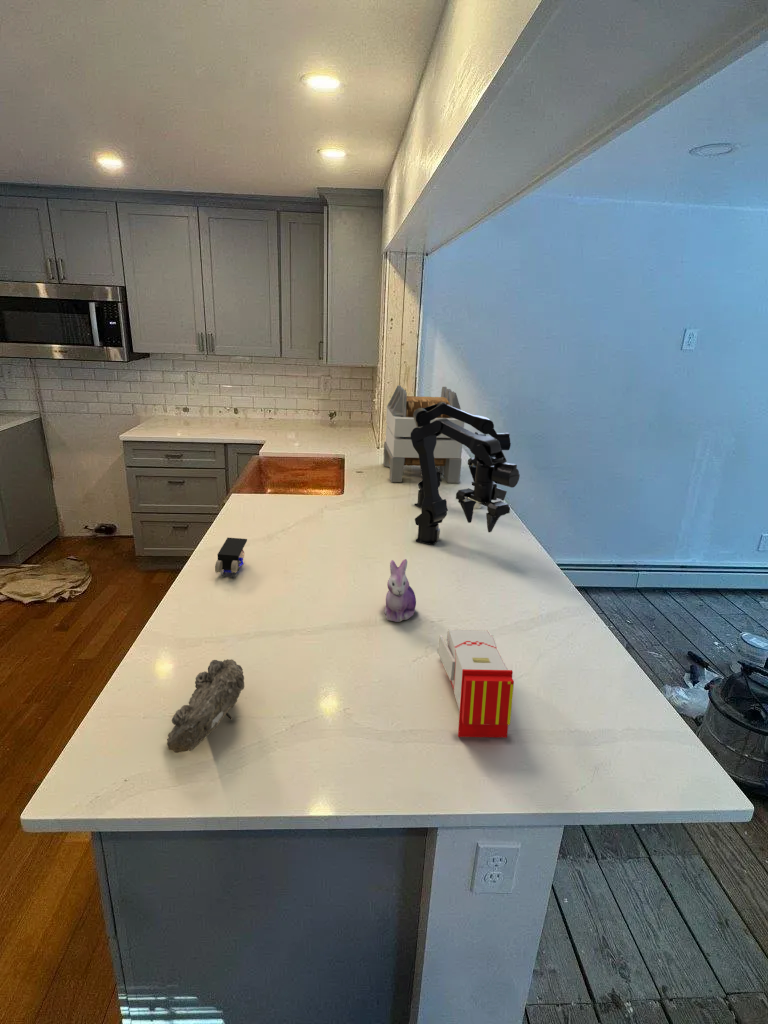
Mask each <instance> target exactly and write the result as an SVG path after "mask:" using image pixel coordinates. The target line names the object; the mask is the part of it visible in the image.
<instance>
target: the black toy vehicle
mask: <svg viewBox="0 0 768 1024" xmlns="http://www.w3.org/2000/svg"><path fill="white" fill-rule="evenodd" d="M247 542H248V538H240V537H226V539H225V541H224V543H223V544H222V546H221V547H220V549H219V551H218V552H217V560H216V562H215V564H214V572H215V573H221V577H222V578H224V577H225V576H226V574H227V573H230V574H231V573H232V574H231V578H234V577H235V575H236V573H237V572H239V571H240V567H242V566H243V565H244V564H245V562H244V558H245V551H244V547H245V546H246V544H247Z"/></svg>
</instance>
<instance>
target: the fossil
mask: <svg viewBox="0 0 768 1024" xmlns="http://www.w3.org/2000/svg"><path fill="white" fill-rule="evenodd" d="M243 670H244V669H243V667H242V665H240V664H237V662H236V661H235V660H234V659H232V658H231V659H227V658H226V659H224V660H223V661H222V660H217V659H212V660H211V661H210V663H209V665H208V666H207V671H201V672H199V673H198V674H197V675H196V676H195V680H194V684H195V685H194V687H195V689H194V690H193V693H192V694H191V697H190V698H189V700H188V704H184V705H182V706H181V707H180V709H177V710H176V711H175V713H174V715H173V716H172V718H171V723H172V724H173V727H172V730H171V731H170V732H168V734H167V738H166V741H167V742H166V745H167V749H168V750H169V751H173V752H174V753H176V754H178V753H182V752H188V751H189V752H192V751H193V750H195V748H196V747H197V746H199V744H200V743H201V742H203V741H204V740H205V739H206V738H207V737H208V736H209V735H210V734H211V733H212V732H214V730H215V729H217V727H218V726H219V724H220V722H221V721H222V720H223V719H224V718H225V716H226V717H227V719H229V720H233V717H232V715H230V714H229V710H230V709H231V708H234V706H235V704H236V703H237V702H238V699H239V697H240V695H241V693H242V691H243V690H245V689H244V688H245V675H244V671H243Z"/></svg>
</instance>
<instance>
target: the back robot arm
mask: <svg viewBox="0 0 768 1024" xmlns="http://www.w3.org/2000/svg"><path fill="white" fill-rule="evenodd" d="M442 414H445V415H447V416H450V417H452V418H455V419H457V420H460V421H462V422H464V424H467V425H469V426H471V427H472V428H474V429H475V430H476V431H475V432H473V433H474V434H477V435H482V436H488V437H491V438H495V439H497V440H498V441H499V442H500V447H501V450H502V451H509V450H510V449H511V446H512V445H511V444H512V443H511V437H510V435H511V433H509V432H497V431H496V430H495V424H494V422H493V421H492V420H491V419H489V418H488V417H486V416H483V415H478V414H477V415H476V414H471V413H470V412H466V411H464V410H462V409H461V410H459V409H457V408H454V407H452V406H450V405H447V404H445V403H444V402H439V403H437V404H435V405H432V406H428V407H426V408H418V409H416V410H415V412H414V413H413V418H414V421H415V423H416V426H417V427H422V426H425V425H428V424H430V422H431V420H433V419H435V418H437V417H439V416H440V415H442ZM477 431H479V432H480V433H478V432H477ZM475 457H476V456H475V455H474V457H469V459H468V460H467V465H468V468H469V472H470V475H471V477H472V482H475V475H476V465H477V464H473V463H471V460H473V459H474V458H475ZM495 458H496V457H492V458H491V459H495ZM435 468H436V475H437V483H438V489H439V488H440V487H441V482H443V481H442V477H441V472H440V471H439V469H438V468H437V467H435ZM417 487H418V490H417V502H416V503H414V506H416V507H418V508H419V509H421V506H422V503H423V500H424V489H423V482H422V480H420V481H419V482H418V483H417Z"/></svg>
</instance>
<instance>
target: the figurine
mask: <svg viewBox="0 0 768 1024" xmlns="http://www.w3.org/2000/svg"><path fill="white" fill-rule="evenodd" d="M407 567H408V559H406V558H404V559H403V560H402V561H401V563H400V565H399V566H398V565H397V563H396V562H395V561H394V560H393V559H391V560H390V561H389V570H390V576H389V578H388V579H387V589H388V591H387V592H386V594H385V595H386V596H385V607H384V615H385V616H386V620H387V621H391V622H395V623H400V622H402V621H406V620H409V619H410V618H411V617H413V616H414V615H415V610H416V606H417V597H416V593H415V591H414V590H413V587H411V586H410V582H409V579H408V577H407V574H406V571H407Z"/></svg>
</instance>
